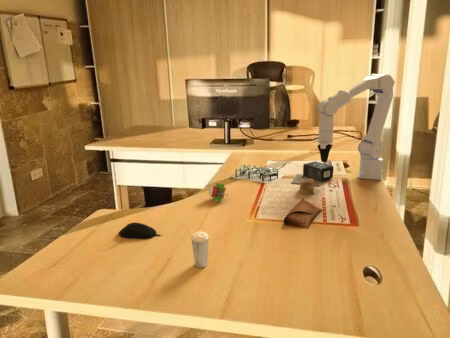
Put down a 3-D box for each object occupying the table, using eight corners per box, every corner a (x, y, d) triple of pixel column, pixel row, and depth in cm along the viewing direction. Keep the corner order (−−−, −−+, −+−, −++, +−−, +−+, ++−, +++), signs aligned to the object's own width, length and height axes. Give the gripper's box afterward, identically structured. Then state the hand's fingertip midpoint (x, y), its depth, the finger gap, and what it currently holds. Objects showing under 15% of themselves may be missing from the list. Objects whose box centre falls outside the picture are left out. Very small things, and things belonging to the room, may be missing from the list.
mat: (324, 177, 168) (324, 176, 168) (319, 186, 156) (319, 185, 156) (297, 174, 172) (297, 173, 172) (291, 183, 161) (291, 182, 161)
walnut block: (312, 190, 152) (312, 178, 151) (313, 194, 148) (314, 182, 146) (299, 190, 153) (300, 178, 152) (300, 194, 148) (301, 182, 147)
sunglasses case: (309, 229, 118) (299, 210, 118) (290, 236, 122) (280, 218, 122) (323, 209, 133) (314, 192, 133) (306, 215, 137) (297, 199, 137)
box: (321, 168, 159) (302, 163, 168) (320, 181, 161) (302, 176, 169) (333, 165, 163) (315, 160, 172) (333, 178, 165) (314, 172, 173)
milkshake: (189, 261, 101) (187, 227, 99) (209, 259, 102) (208, 225, 99) (189, 270, 97) (187, 234, 94) (210, 268, 97) (208, 233, 95)
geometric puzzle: (222, 189, 149) (212, 176, 144) (234, 193, 145) (225, 180, 140) (212, 203, 147) (202, 191, 142) (224, 207, 142) (214, 195, 137)
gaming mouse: (161, 242, 113) (160, 229, 112) (115, 238, 116) (114, 226, 115) (168, 232, 119) (167, 221, 118) (124, 229, 122) (123, 218, 121)
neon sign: (296, 159, 184) (272, 175, 159) (295, 167, 185) (272, 185, 161) (256, 154, 194) (228, 169, 169) (256, 162, 195) (229, 178, 171)
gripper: (318, 126, 164) (317, 156, 167) (313, 132, 151) (311, 165, 155) (335, 127, 161) (333, 157, 165) (331, 133, 148) (329, 166, 152)
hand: (324, 161), depth 160 cm, fingers closed
